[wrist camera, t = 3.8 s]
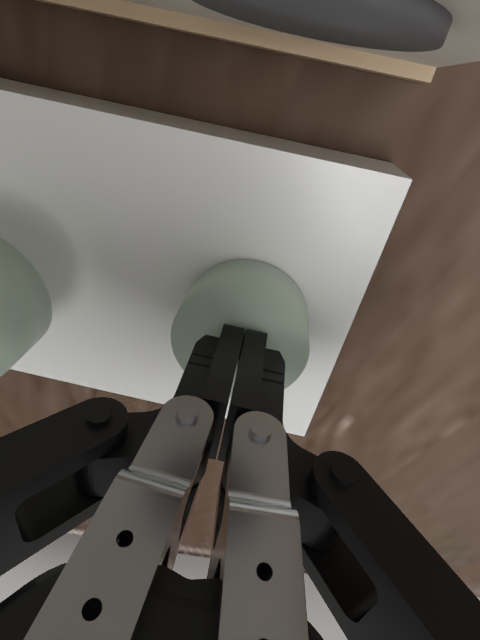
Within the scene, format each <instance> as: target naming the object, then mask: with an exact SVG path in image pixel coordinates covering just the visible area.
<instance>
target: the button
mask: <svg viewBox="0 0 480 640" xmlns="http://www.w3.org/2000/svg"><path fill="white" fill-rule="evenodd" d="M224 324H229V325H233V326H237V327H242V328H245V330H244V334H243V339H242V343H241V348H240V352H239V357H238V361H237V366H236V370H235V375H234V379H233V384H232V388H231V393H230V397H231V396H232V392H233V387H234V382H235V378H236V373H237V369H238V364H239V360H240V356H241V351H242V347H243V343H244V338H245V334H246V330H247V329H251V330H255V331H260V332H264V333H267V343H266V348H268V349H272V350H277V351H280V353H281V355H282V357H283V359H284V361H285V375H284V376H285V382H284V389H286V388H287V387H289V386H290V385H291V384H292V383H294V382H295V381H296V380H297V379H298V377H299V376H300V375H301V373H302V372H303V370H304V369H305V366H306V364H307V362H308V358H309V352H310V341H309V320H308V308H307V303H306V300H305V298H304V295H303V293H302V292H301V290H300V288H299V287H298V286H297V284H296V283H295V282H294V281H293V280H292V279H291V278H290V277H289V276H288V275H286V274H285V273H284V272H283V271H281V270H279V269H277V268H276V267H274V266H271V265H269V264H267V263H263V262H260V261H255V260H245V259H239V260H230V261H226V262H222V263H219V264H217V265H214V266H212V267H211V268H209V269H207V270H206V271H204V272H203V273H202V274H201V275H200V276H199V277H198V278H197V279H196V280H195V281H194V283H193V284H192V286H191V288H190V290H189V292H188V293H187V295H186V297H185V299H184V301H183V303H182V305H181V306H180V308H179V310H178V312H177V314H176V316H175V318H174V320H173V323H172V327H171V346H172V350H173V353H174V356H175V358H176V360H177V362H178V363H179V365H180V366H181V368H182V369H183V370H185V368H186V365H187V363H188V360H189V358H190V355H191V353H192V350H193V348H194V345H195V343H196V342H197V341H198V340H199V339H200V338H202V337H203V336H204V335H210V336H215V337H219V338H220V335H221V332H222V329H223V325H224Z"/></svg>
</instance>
